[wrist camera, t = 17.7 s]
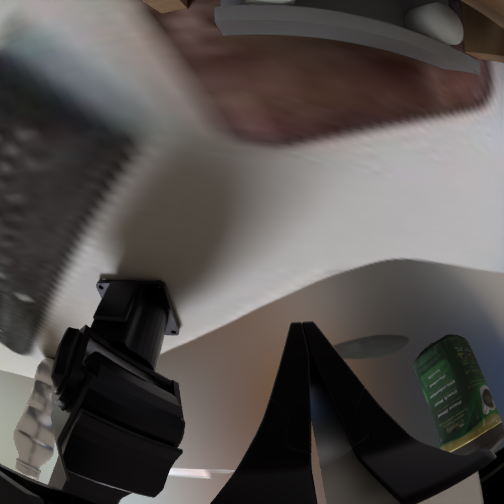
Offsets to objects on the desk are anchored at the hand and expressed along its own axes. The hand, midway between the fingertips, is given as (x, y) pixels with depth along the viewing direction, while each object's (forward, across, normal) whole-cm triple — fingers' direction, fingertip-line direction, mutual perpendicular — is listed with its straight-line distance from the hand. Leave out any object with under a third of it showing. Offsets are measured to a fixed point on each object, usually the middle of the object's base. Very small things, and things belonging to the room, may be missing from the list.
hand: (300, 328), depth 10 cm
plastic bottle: (+10, +32, +24) cm, 41 cm away
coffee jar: (+10, -24, +21) cm, 33 cm away
